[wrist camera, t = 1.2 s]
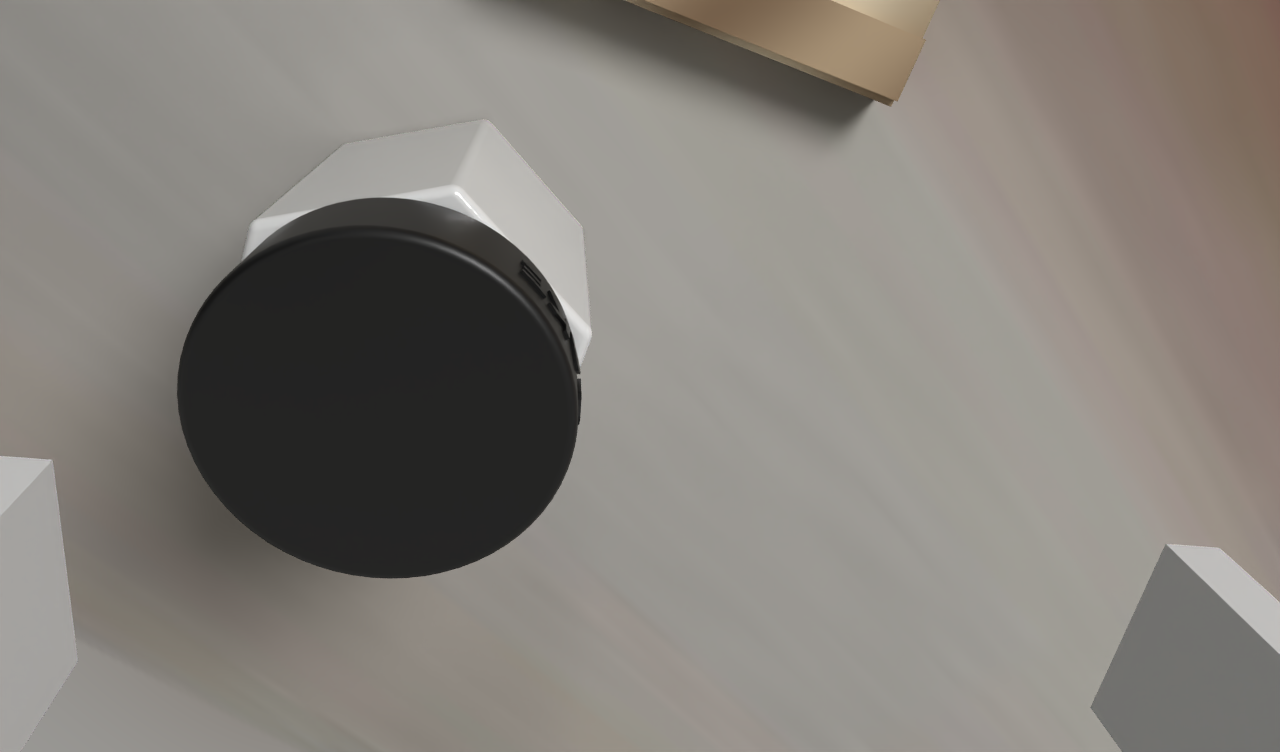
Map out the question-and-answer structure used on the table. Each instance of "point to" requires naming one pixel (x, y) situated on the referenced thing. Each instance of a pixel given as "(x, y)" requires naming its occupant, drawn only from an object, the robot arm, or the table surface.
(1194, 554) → the robot arm
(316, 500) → the jar
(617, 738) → the table surface
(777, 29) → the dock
